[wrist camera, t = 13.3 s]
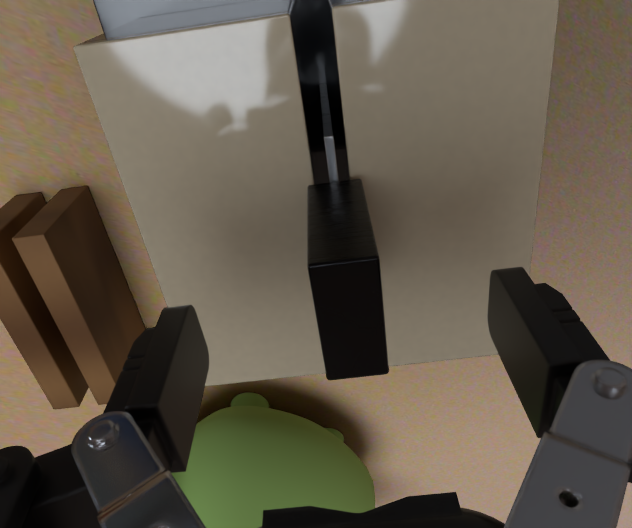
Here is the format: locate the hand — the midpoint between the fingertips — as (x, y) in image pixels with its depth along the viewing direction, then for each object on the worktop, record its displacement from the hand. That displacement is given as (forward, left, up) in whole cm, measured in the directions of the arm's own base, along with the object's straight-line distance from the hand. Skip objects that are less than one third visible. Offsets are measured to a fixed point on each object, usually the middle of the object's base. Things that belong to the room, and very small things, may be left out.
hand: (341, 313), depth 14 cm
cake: (0, 0, -13) cm, 13 cm away
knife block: (+5, -14, -13) cm, 19 cm away
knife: (0, 0, -12) cm, 12 cm away
